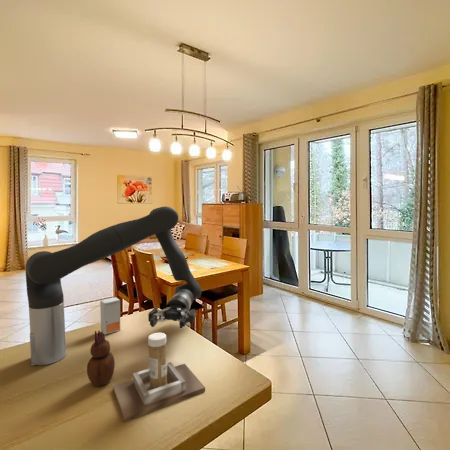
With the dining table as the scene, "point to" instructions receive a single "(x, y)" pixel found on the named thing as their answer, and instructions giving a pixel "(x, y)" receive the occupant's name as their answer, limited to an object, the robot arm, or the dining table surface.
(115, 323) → the skincare box
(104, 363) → the wooden figurine
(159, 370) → the sprinkles bottle
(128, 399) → the board
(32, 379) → the dining table surface
